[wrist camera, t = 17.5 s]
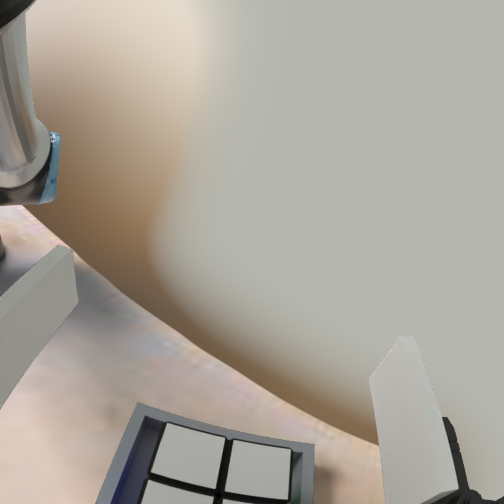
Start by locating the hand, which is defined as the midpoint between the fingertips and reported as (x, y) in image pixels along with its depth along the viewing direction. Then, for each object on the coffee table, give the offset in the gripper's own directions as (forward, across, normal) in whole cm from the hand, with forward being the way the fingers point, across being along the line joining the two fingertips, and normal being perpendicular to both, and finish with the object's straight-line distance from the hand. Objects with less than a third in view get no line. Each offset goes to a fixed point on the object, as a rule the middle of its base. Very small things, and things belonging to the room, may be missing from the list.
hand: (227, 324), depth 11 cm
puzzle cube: (-3, +2, -24) cm, 24 cm away
